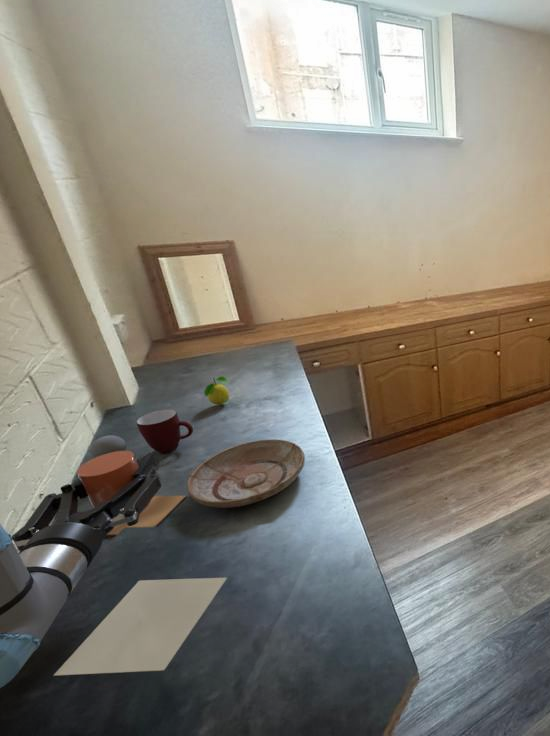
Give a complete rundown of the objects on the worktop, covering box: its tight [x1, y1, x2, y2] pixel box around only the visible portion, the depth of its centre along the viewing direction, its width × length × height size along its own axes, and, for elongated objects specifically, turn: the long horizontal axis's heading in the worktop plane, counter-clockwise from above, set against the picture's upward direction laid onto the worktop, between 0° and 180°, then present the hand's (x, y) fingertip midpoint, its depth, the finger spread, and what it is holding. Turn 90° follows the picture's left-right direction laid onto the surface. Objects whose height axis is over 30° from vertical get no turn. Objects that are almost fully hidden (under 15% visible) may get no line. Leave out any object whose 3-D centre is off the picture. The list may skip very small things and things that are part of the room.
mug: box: [136, 408, 194, 454], centre depth 106 cm, size 10×8×10 cm
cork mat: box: [104, 495, 187, 537], centre depth 85 cm, size 11×11×1 cm
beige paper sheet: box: [53, 577, 228, 677], centre depth 64 cm, size 15×15×1 cm
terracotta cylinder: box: [76, 450, 151, 509], centre depth 69 cm, size 7×7×10 cm
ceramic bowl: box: [186, 438, 306, 509], centre depth 94 cm, size 23×24×5 cm
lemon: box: [204, 376, 230, 406], centre depth 128 cm, size 7×6×10 cm
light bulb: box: [90, 434, 127, 459], centre depth 96 cm, size 6×6×10 cm
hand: (126, 464), depth 73 cm, fingers closed on terracotta cylinder, 7 cm apart
